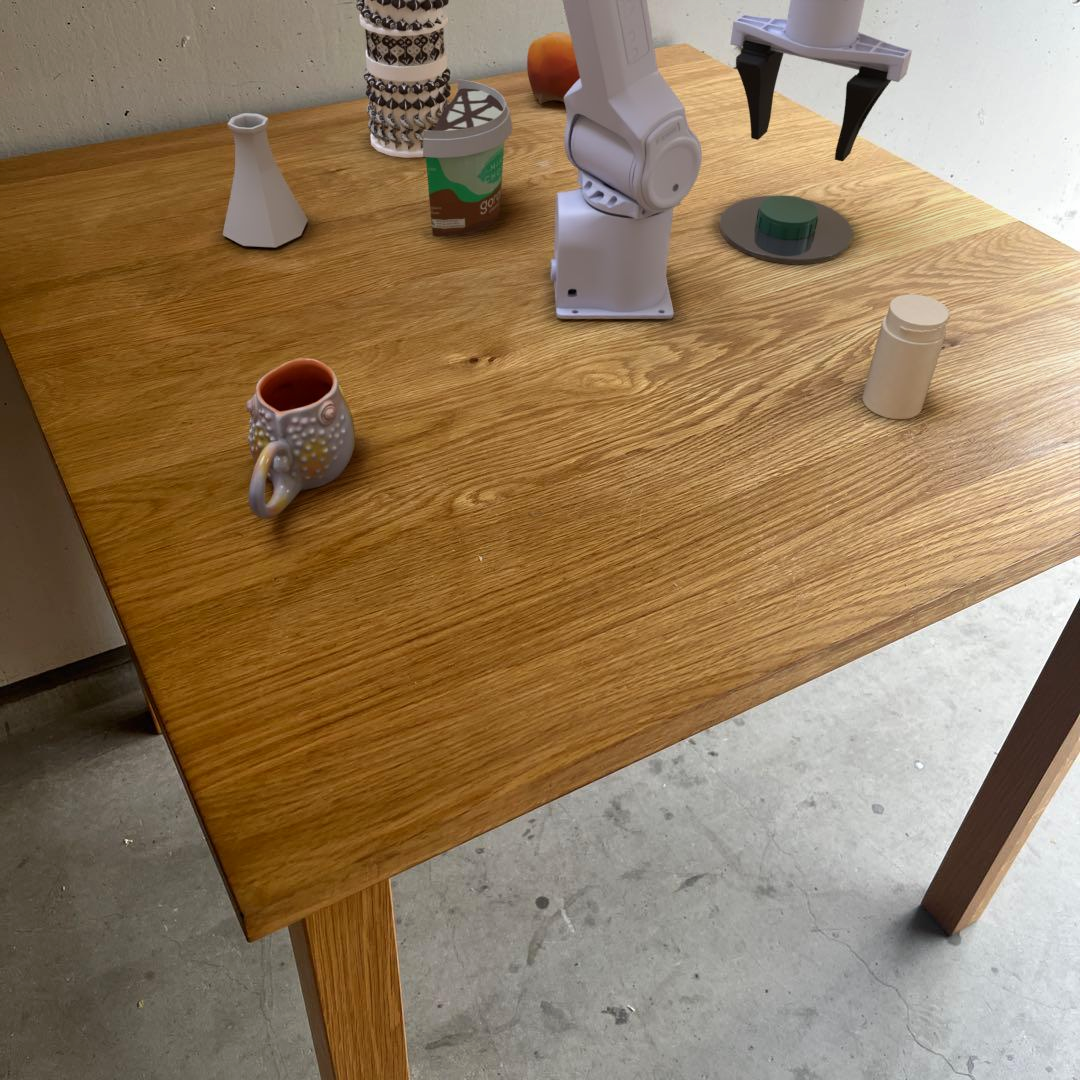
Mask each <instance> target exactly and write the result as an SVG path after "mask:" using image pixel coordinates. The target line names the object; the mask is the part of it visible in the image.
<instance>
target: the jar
mask: <svg viewBox="0 0 1080 1080" xmlns="http://www.w3.org/2000/svg"><path fill="white" fill-rule="evenodd" d="M950 318H951V316H950V311H949V310H948V307H947V306H946V305H945V304H943V303H942V302H940V301H939V300H937V299H936V298H933V297H930V296H926V295H922V294H915V293H914V294H913V293H912V294H911V293H910V294H908V293H907V294H901V295H898V296H895V297H894V298H893V299H892V300H891V301H890V303H889V307H888V310H887V313H886V314H885V316H884V317H883V319H882V321H881V325H880V328H879V332H878V336H877V339H876V343H875V347H874V350H873V354H872V358H871V361H870V364H869V370H868V373H867V377H866V380H865V384H864V387H863V391H862V395H861V398H862V402H863V404H864V405H865V407H866V408H867V409H868V410H870V412H872V413H874V414H876V415H878V416H880V417H883V418H887V419H891V420H907V419H911V418H914V417H917V416H918V415H919V414H920V413H921V412H922V410H923V408H924V405H925V401H926V398H927V396H928V392H929V389H930V386H931V382H932V379H933V376H934V373H935V370H936V367H937V364H938V361H939V358H940V355H941V351H942V348H943V345H944V342H945V339H946V336H947V329H946V328H947V327H946V326H947V325H948V324H949V322H950Z"/></svg>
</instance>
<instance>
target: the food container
mask: <svg viewBox="0 0 1080 1080" xmlns="http://www.w3.org/2000/svg"><path fill="white" fill-rule="evenodd" d="M449 103H450V104H449V105H448V106H446V107H445V109H444V110H443V112H442V114H441V116H440V118H439V120H438V122H437V124H436V126H435V128H434V129H433V131H430V130H424V139H423V157H422V158H425V165H426V176H427V186H428V188H427V189H428V199H429V209H430V210H429V211H430V221H431V222H430V223H431V234H432V236H439V237H451V236H452V237H453V236H464V235H469V234H472V233H477V232H480V231H482V230H484V229H487V228H489V227H490V226H492V225H493V224H494V223H495V222H496V221H497V220H498V218H499V217H500V212H501V211H500V210H501V199H502V198H501V197H502V183H503V168H504V154H505V153H504V152H505V142H506V141H507V140H508V139H509V138H510V136H511V134H512V133H513V122H512V117H511V113H510V107H509V106H508V104H507V102H506V99H505V97H504V96H503V95H502V93H500V92H499V91H497V90H496V89H495V88H493V87H491V86H489V85H486V84H484V83H480V82H476V81H472V80H467V79H461V78H460V79H459V78H457V92H456V93H455V96H454V98H453V99H452V101H450V102H449Z"/></svg>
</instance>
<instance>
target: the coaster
mask: <svg viewBox="0 0 1080 1080" xmlns="http://www.w3.org/2000/svg"><path fill="white" fill-rule="evenodd" d="M773 196H774V195H761V196H754V197H748V198H745V199H742V200H738V201H736V202H734V203H732V204H731V205H730V206H728V207H726V208H725V209H724V211H723V212H722V213H721V214H720V218H719V226H718V228H719V231H720V235H721V236H722V238H723V239H724V240H725V241H726V242H727V243H728V244H729V246H732V248H734V249H736V250H737V251H739V252H741V253H743V254H745V255H748V256H750V257H752V258H756V259H759V260H762V261H766V262H771V263H776V264H784V265H813V264H819V263H825V262H827V261H830V260H831V261H832V260H833V259H836V258H838V257H839V256H841V255H843V254H844V253H845V252H846V251H848V249H849V248H850V247H851V245H852V242H853V238H854V230H853V227H852V226H851V223H850V222H849V221H848V220H847V219H846V218H845V217H844V216H843V215H842V214H840V213H839V212H837V210H835V209H833V208H832V207H830V206H827V205H824V204H822V203H819V202H816V201H812V200H809V199H805V198H804V199H805V200H807V201H809V202H811V203H813V204H814V205H815V206H816V207H817V209H818V216H817V217H818V221H817V226H816V229H815V230H814V232H813V233H812V234H811V235H810V236H808V237H805V238H802V239H795V240H788V239H780V238H776V237H772V236H770V235H768V234H766V233H764V232H763V231H761V230H760V229H759V228H758V225H757V221H756V220H757V214H758V209H759V207H760V204H761V202H762V201H763V200H765V199H767V198H769V197H773Z"/></svg>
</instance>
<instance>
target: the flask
mask: <svg viewBox="0 0 1080 1080" xmlns="http://www.w3.org/2000/svg"><path fill="white" fill-rule="evenodd" d="M268 125H269V117H267V116H265V115H263V114H259V113H249V112H243V113H240V114H237V115H235V116H232V117H231V118H230V119H229V120H228V122H227V128H228V130H229V131H231V132H232V135H233V142H234V157H235V158H234V159H235V160H234V171H233V173H234V174H233V177H232V185H231V190H230V196H229V201H228V205H227V210H226V215H225V220H224V226H223V231H222V236H224V237H226V238H228V239H230V240H231V241H234V242H235V243H236V244H239V245H241V246H243V247H258V248H259V247H260V248H278V247H280V246H282V245H284V244H286V243H289V242H291V241H293V240H294V239H297V238H299V237H300V236H302V234H303V231H304V229H305V228H306V225H307V223H308V221H309V219H308V218H307V216H306V214H305V212H304V210H303V208H302V207H301V205H300V203H299V201H297V198H296V197H295V195H294V194H293V192H292V190H291V188H290V186H289V184H288V183H287V181H286V179H285V178H284V175H283V173H282V172H281V169H280V167H279V165H278V164H277V162H276V160H275V157H274V153H273V151H272V149H271V145H270V143H269V138H268V131H267V127H268Z"/></svg>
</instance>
